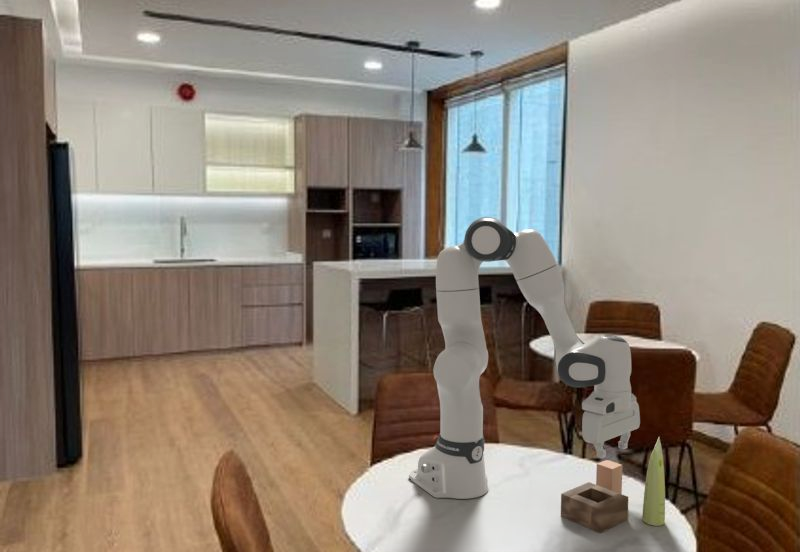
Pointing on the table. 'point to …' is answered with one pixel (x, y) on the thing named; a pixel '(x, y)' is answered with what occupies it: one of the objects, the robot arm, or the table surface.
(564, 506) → the socket block
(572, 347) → the robot arm
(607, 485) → the peg
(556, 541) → the table surface
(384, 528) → the table surface
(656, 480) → the tube
